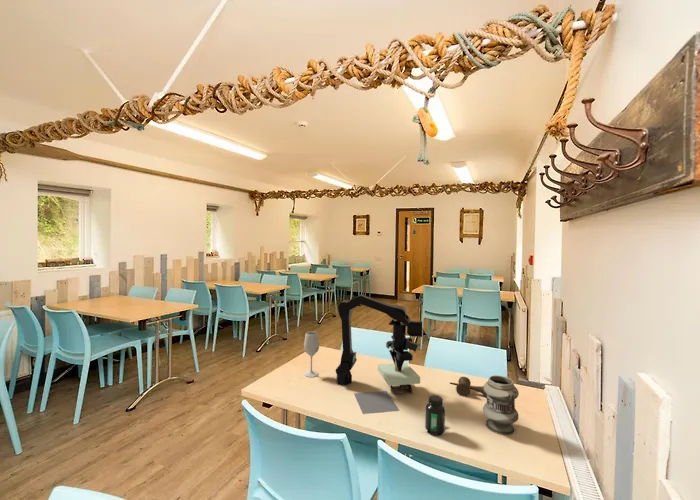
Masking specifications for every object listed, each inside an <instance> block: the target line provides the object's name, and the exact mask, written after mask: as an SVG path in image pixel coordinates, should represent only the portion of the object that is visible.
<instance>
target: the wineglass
mask: <svg viewBox="0 0 700 500" xmlns="http://www.w3.org/2000/svg"><path fill="white" fill-rule="evenodd" d="M319 338H320V337H319V334H318V332H317V331H313V330H312V331H310V330H309V331H307V332H305V337H304V342H303V349H304V352H305V353H306V354H307V355H308V356H309V357H310V370H308V371H305V372H304V374H303V376H304V377H307V378H316V377H318V375H319V372H317V371H315V370H313V357H314V356H315V355H316V354H317V353H318V352H319V349H320V339H319Z"/></svg>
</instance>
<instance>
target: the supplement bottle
mask: <svg viewBox="0 0 700 500" xmlns="http://www.w3.org/2000/svg"><path fill="white" fill-rule="evenodd" d="M443 400H444V399H443V397H441V396H440V395H436V394H431V395H429V396H428V402H427V404H426V405H425V417H424V418H425V419H424V420H425V422H424V427H425V429H426V432H427V434H429V435H431V436H439V437H440V436H443V434H444V433H445V427H446V407H445V405H443V403H444V402H443Z"/></svg>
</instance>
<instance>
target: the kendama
mask: <svg viewBox="0 0 700 500" xmlns="http://www.w3.org/2000/svg"><path fill="white" fill-rule="evenodd" d="M457 382H458V383H457ZM457 382H449V384H450V385H453V386H456V387H455V390H456V393H457V394H458V395H459V396H462V397H469V395H470V394H471V390H472V391H476V392H477V393H480V394H482V395H483V396H485V397H487V394H486V392H485V391H484V385H483V386H482V385H481V386H479V385H478V386H477V385H472V384H471V380H470V379H469V377H466V376H460V377H459V379H458V381H457Z"/></svg>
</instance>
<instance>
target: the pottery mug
mask: <svg viewBox="0 0 700 500" xmlns="http://www.w3.org/2000/svg"><path fill="white" fill-rule="evenodd" d="M389 387H390V389H389V390H390V393H392V394H395V395H396V394H400V393H401V394H404V389H405V390H407V389H408V390H409V391H410V393H411V394H413V387H412V384H406V385H398V386H396V387H394V386H393V385H392V386H389Z"/></svg>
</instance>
